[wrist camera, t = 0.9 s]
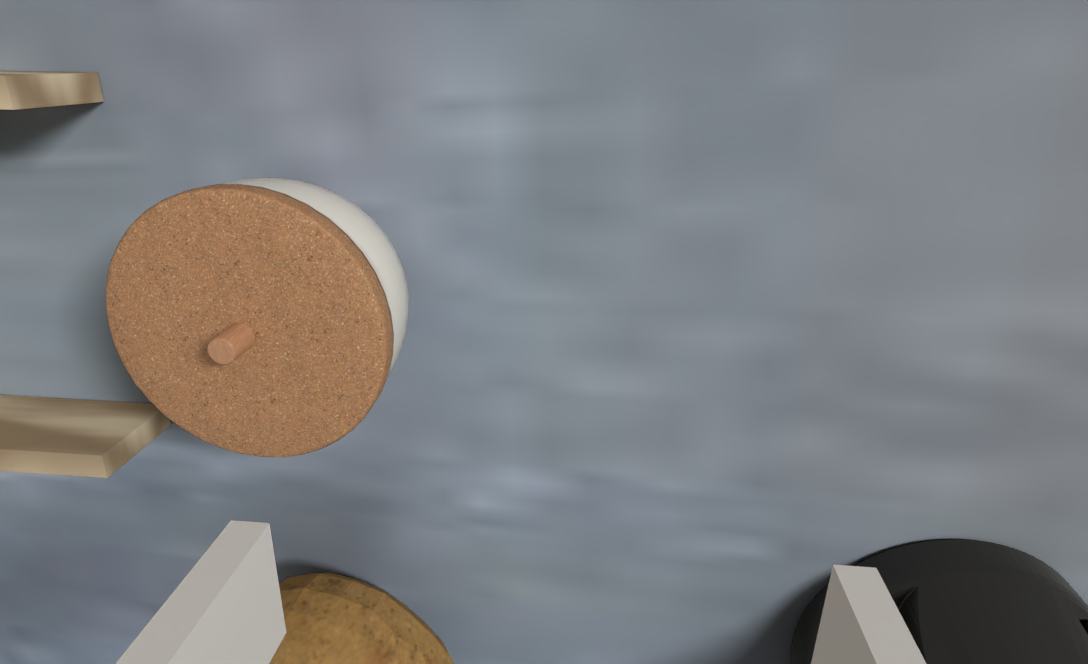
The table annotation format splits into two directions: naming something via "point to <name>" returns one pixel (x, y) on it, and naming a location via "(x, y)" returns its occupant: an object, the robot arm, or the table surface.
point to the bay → (57, 423)
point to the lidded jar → (258, 313)
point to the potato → (351, 625)
